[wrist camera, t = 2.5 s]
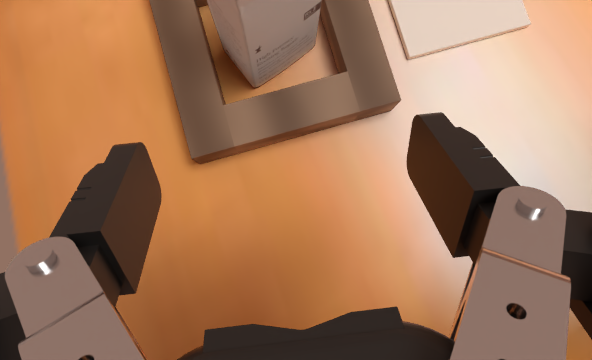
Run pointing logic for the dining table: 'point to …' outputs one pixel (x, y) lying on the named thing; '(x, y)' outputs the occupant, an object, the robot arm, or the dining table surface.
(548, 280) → the robot arm
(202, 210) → the dining table surface
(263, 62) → the skincare box
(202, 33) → the frame
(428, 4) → the ceramic tile
